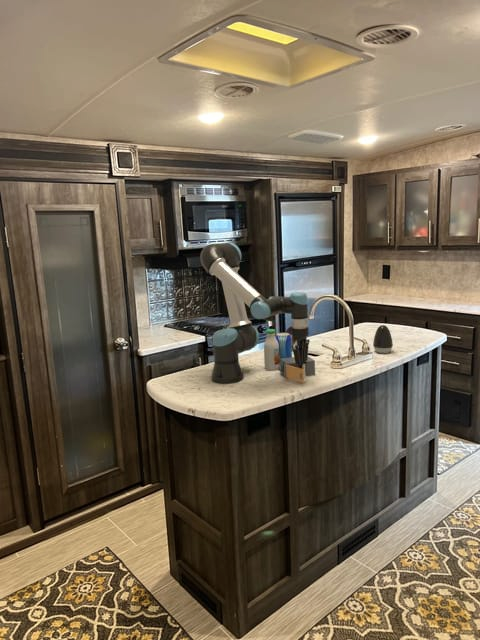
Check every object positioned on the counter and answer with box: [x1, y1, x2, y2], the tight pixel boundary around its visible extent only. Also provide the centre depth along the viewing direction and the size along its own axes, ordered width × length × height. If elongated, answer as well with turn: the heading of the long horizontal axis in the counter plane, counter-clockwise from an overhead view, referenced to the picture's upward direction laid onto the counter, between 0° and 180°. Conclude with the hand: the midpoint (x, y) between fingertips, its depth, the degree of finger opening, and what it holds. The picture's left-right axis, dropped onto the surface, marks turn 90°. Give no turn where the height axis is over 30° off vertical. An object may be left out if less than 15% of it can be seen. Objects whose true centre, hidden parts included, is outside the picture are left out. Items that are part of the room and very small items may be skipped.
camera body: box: [278, 356, 316, 377], centre depth 225 cm, size 15×10×8 cm, turn 104°
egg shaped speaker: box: [372, 324, 394, 354], centre depth 254 cm, size 10×10×15 cm
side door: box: [283, 364, 305, 383], centre depth 213 cm, size 12×2×6 cm, turn 38°
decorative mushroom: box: [284, 326, 295, 351], centre depth 268 cm, size 11×11×15 cm
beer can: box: [275, 332, 293, 359], centre depth 242 cm, size 8×8×16 cm
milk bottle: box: [263, 328, 280, 371], centre depth 235 cm, size 8×8×20 cm
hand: (302, 377), depth 213 cm, fingers closed
